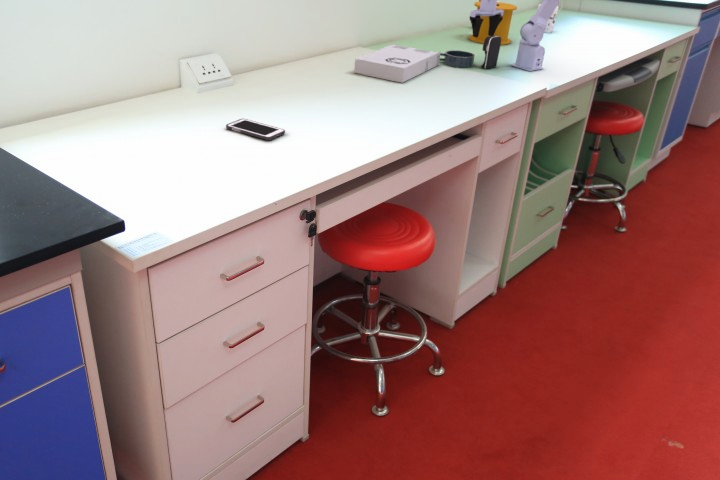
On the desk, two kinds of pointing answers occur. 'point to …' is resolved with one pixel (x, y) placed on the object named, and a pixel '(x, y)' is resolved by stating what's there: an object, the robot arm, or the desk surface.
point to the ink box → (551, 20)
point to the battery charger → (491, 51)
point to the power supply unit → (396, 63)
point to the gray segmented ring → (458, 58)
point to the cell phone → (255, 129)
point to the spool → (502, 27)
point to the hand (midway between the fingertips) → (483, 36)
